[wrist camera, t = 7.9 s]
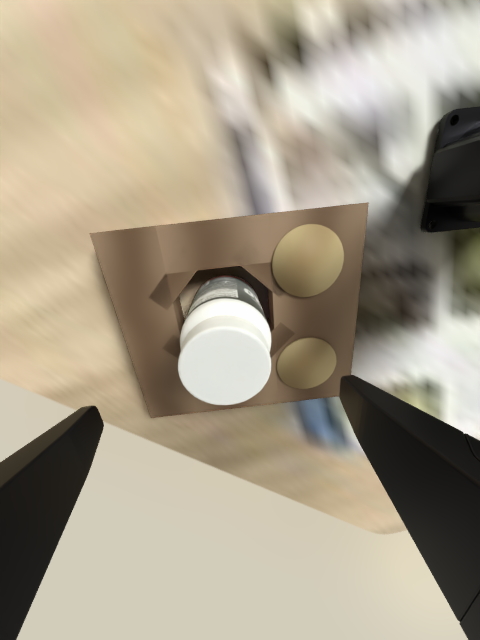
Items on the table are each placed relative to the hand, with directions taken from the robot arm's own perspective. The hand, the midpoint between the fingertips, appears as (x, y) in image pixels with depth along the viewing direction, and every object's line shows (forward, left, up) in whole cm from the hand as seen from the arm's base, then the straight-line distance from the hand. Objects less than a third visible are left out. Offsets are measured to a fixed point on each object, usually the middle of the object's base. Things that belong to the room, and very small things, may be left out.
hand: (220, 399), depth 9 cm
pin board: (-1, +1, -10) cm, 10 cm away
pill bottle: (0, 0, -10) cm, 10 cm away
